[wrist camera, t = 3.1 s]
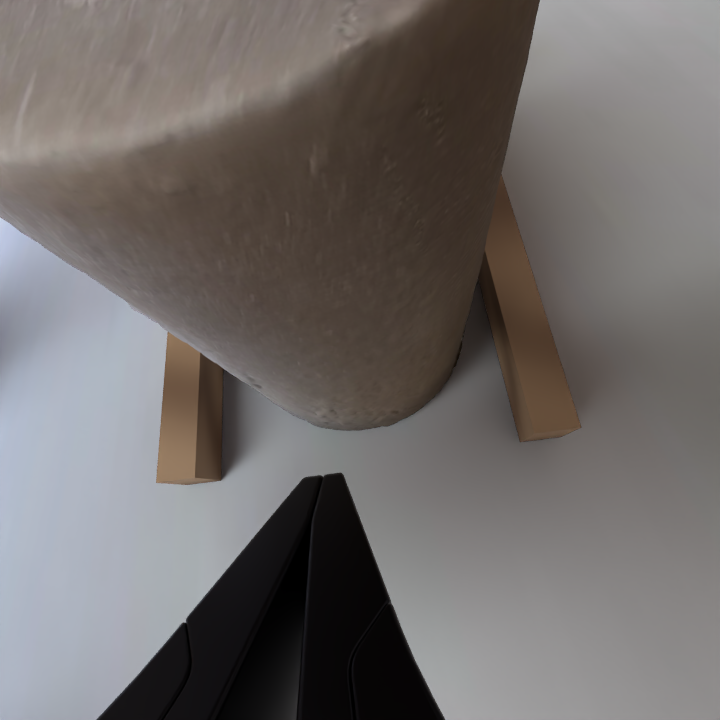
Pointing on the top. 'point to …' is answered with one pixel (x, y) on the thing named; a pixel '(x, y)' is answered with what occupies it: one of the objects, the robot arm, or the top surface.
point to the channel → (511, 336)
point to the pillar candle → (272, 177)
